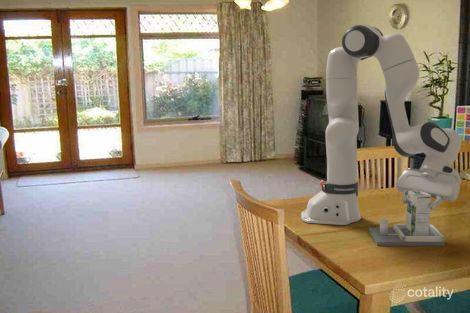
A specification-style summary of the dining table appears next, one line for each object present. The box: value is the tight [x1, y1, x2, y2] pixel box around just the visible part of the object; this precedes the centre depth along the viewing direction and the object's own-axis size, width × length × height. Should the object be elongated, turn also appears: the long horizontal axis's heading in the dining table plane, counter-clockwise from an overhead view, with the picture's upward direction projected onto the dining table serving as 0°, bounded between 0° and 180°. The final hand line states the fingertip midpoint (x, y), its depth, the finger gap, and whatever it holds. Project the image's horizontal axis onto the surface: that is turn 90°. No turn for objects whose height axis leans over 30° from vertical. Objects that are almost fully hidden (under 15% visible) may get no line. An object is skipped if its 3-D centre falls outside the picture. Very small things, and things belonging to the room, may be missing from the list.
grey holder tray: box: [368, 218, 446, 247], centre depth 155 cm, size 21×14×6 cm, turn 85°
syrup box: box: [405, 190, 432, 236], centre depth 154 cm, size 6×6×14 cm
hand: (417, 205), depth 153 cm, fingers open, 8 cm apart
